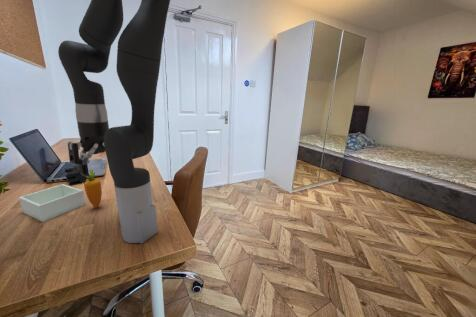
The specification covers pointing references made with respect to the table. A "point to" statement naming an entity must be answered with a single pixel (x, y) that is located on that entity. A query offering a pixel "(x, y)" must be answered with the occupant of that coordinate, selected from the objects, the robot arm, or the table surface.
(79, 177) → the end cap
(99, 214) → the table surface
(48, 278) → the table surface
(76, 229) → the table surface
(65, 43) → the robot arm
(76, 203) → the bin
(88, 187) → the carrot
